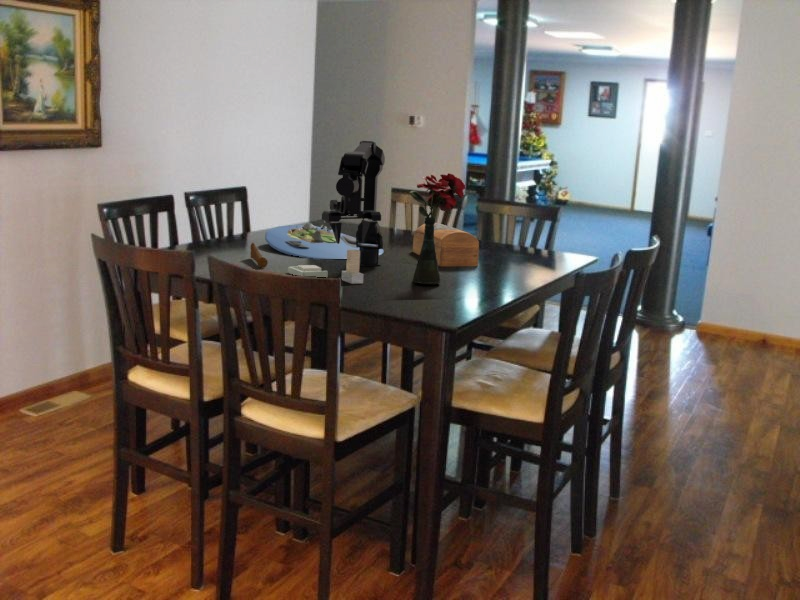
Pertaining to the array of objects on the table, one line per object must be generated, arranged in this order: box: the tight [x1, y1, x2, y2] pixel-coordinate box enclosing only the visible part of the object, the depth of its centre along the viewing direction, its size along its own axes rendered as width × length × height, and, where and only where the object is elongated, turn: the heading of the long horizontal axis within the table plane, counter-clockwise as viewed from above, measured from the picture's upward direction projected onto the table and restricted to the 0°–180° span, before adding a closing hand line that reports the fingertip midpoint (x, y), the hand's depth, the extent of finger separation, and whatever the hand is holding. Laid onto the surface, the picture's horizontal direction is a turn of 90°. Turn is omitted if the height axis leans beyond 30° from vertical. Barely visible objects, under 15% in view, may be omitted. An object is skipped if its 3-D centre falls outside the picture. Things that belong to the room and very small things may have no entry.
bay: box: [287, 265, 329, 278], centre depth 264 cm, size 9×11×2 cm
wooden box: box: [412, 222, 480, 267], centre depth 308 cm, size 30×16×14 cm, turn 18°
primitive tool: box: [250, 242, 269, 269], centre depth 279 cm, size 19×6×4 cm
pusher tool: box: [341, 249, 364, 285], centre depth 256 cm, size 4×7×10 cm, turn 31°
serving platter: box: [264, 220, 385, 260], centre depth 314 cm, size 45×43×12 cm
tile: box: [297, 264, 322, 272], centre depth 264 cm, size 6×6×3 cm
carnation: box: [408, 173, 466, 286], centre depth 262 cm, size 16×18×35 cm
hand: (350, 243), depth 260 cm, fingers open, 9 cm apart
